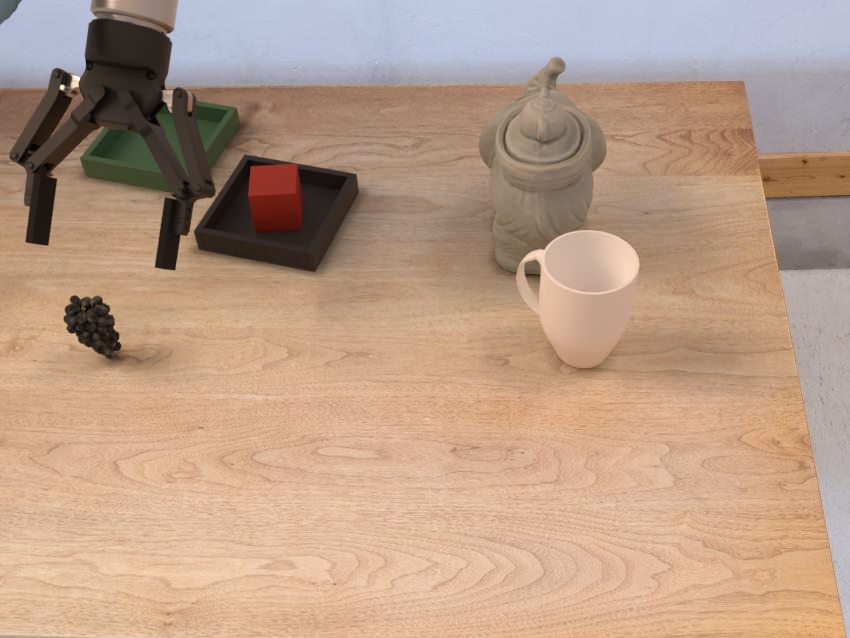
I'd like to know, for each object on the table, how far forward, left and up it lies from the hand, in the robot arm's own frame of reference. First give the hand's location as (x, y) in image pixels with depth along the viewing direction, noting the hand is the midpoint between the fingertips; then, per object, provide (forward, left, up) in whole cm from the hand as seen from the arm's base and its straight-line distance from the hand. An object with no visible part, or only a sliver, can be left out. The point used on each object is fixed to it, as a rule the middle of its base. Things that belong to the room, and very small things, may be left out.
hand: (100, 257), depth 106 cm
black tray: (+9, +20, -10) cm, 24 cm away
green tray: (-9, +28, -10) cm, 31 cm away
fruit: (0, -4, -10) cm, 11 cm away
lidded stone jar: (+37, +26, -10) cm, 46 cm away
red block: (+9, +20, -9) cm, 23 cm away
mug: (+44, +10, -10) cm, 46 cm away
